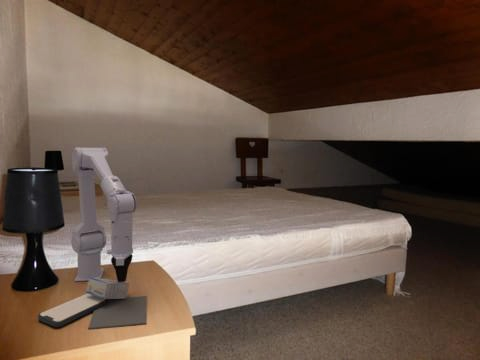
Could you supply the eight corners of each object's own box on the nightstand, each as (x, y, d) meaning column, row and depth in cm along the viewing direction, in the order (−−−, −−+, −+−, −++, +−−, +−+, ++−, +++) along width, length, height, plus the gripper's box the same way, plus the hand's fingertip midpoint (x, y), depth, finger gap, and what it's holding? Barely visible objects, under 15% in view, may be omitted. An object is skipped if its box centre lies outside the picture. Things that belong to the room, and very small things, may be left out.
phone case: (88, 297, 106) (35, 320, 92) (88, 292, 106) (35, 314, 92) (109, 304, 102) (57, 329, 88) (109, 298, 101) (57, 323, 87)
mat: (97, 300, 104) (97, 299, 104) (146, 297, 108) (146, 295, 108) (88, 329, 89) (88, 327, 89) (146, 324, 92) (146, 322, 92)
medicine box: (130, 283, 106) (107, 282, 99) (126, 299, 105) (103, 299, 98) (111, 278, 110) (89, 277, 103) (108, 293, 109) (84, 293, 102)
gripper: (109, 229, 108) (109, 272, 109) (103, 243, 94) (104, 292, 95) (134, 228, 109) (133, 271, 111) (131, 242, 95) (131, 290, 97)
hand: (121, 280), depth 103 cm, fingers closed
